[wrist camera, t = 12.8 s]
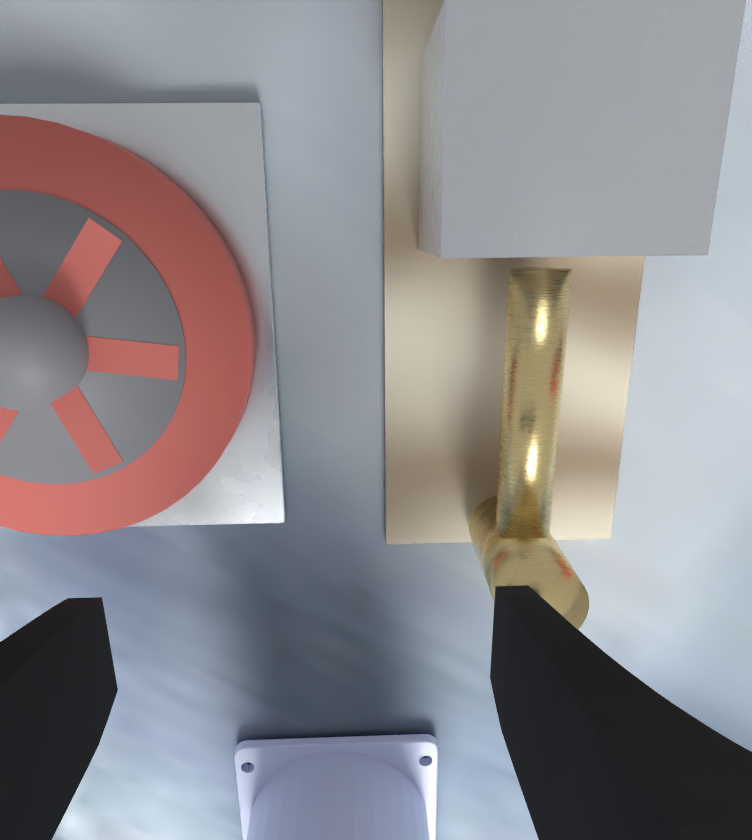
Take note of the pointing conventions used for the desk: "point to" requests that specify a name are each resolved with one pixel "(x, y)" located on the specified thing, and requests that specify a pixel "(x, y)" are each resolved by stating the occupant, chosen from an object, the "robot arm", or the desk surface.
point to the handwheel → (109, 335)
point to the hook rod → (530, 448)
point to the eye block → (574, 126)
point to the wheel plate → (249, 245)
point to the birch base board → (483, 347)
